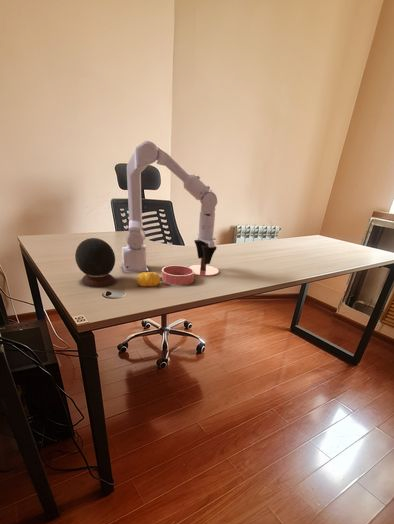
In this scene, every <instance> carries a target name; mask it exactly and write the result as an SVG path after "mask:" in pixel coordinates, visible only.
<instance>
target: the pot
mask: <svg viewBox="0 0 394 524" xmlns="http://www.w3.org/2000/svg"><path fill="white" fill-rule="evenodd" d="M189 267H190V266H185V265H176V264H175V265H174V264H173V265H167V266H164V267H162V268H161V277H162V282H164V283H166V284H168V285H173V286H186V285H191V284H193V283H194V280H195V275H194V270H193V269H192V268H189Z"/></svg>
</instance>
